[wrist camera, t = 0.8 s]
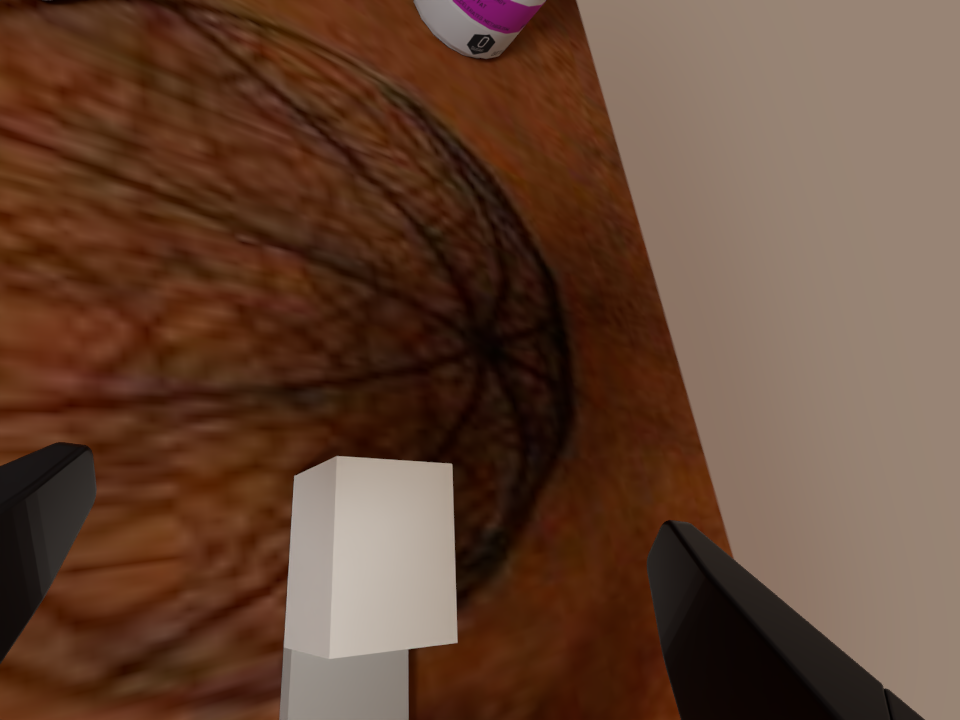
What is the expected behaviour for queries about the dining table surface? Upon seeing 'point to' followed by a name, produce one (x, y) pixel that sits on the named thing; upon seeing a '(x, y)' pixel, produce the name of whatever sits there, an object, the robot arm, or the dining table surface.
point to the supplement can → (477, 23)
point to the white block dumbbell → (366, 585)
